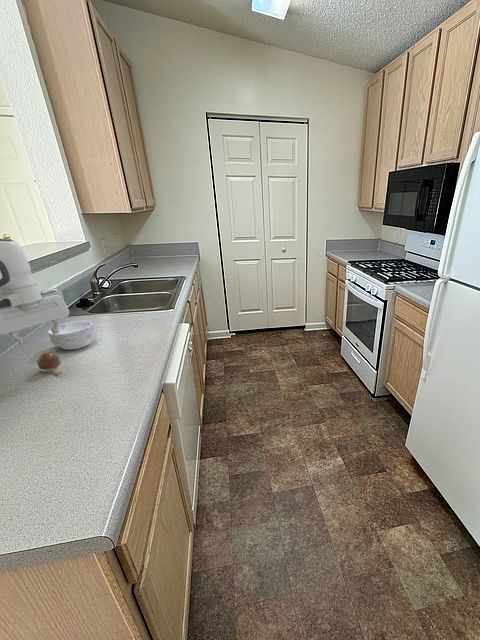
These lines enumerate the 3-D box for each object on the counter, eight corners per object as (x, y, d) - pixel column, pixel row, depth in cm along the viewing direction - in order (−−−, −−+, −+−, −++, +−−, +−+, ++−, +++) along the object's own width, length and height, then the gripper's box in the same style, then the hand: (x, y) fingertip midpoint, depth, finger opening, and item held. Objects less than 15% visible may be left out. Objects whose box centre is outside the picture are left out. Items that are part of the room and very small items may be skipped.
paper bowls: (61, 340, 136) (54, 322, 132) (102, 335, 140) (96, 317, 136) (48, 356, 123) (40, 336, 119) (94, 350, 127) (87, 330, 123)
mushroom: (48, 380, 106) (39, 358, 103) (39, 376, 109) (30, 354, 106) (68, 372, 111) (60, 351, 107) (58, 368, 114) (50, 348, 110)
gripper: (54, 285, 107) (69, 325, 114) (-25, 303, 92) (-3, 348, 98) (64, 288, 104) (79, 329, 111) (-16, 306, 89) (7, 352, 95)
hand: (40, 338), depth 104 cm, fingers open, 8 cm apart
